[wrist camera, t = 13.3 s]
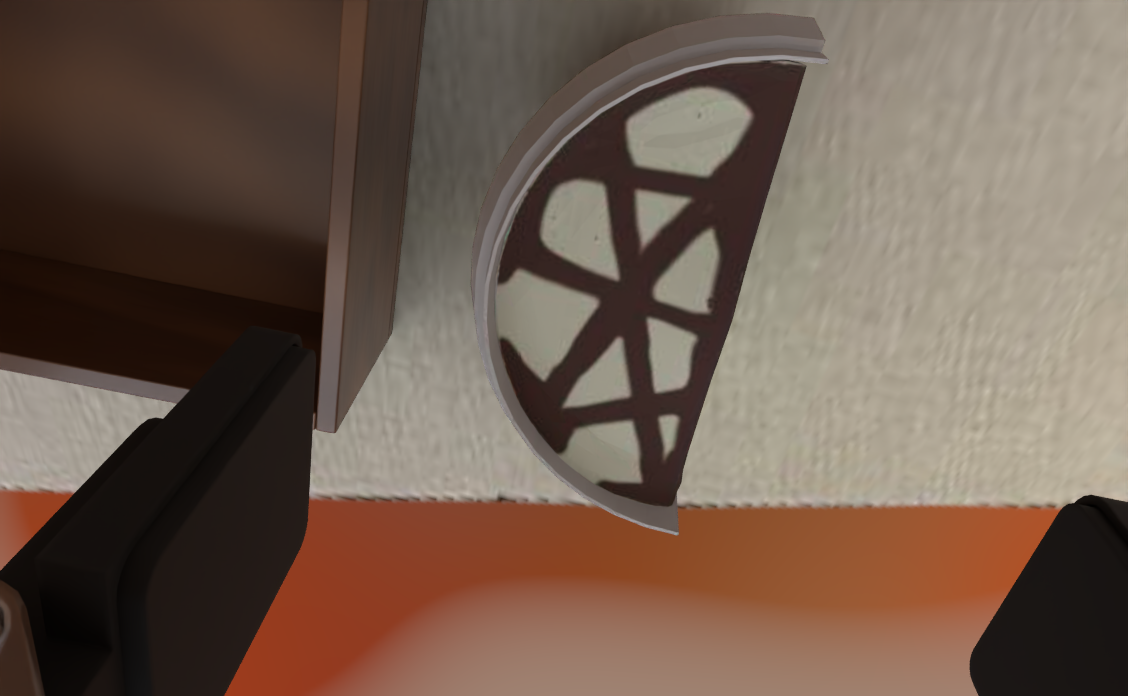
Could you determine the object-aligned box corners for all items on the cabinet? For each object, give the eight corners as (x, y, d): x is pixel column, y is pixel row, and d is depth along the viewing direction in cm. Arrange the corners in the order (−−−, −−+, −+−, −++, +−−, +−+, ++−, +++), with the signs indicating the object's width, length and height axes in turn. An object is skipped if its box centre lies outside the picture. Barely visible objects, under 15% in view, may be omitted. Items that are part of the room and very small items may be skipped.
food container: (544, -51, 23) (499, -42, 14) (754, -7, 23) (839, 28, 14) (486, 330, 29) (427, 507, 20) (655, 362, 29) (673, 552, 20)
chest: (392, 333, 29) (335, 434, 23) (-35, 249, 29) (-204, 330, 23) (447, -181, 22) (385, -223, 16) (-123, -307, 21) (-403, -398, 15)
